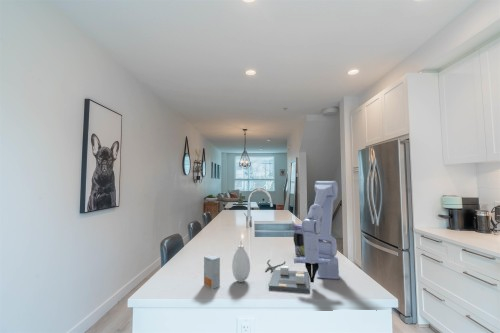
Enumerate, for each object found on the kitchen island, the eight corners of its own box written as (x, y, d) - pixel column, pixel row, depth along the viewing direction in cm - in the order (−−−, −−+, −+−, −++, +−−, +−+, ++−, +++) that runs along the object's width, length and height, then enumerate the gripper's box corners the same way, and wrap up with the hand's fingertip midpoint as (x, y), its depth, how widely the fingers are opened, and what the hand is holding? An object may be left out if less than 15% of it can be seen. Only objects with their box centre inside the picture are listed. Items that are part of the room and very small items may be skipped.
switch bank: (307, 275, 120) (307, 271, 120) (309, 292, 101) (309, 288, 101) (273, 272, 123) (273, 269, 123) (268, 289, 104) (268, 285, 104)
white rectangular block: (304, 281, 108) (304, 273, 108) (304, 284, 105) (304, 276, 105) (295, 280, 109) (295, 273, 109) (295, 283, 106) (295, 275, 106)
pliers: (285, 259, 142) (285, 272, 122) (285, 261, 142) (285, 274, 122) (267, 259, 143) (264, 271, 124) (267, 260, 143) (264, 273, 124)
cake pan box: (293, 253, 157) (292, 223, 158) (298, 251, 160) (298, 222, 161) (318, 260, 142) (318, 228, 143) (324, 258, 145) (323, 227, 146)
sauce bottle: (234, 285, 108) (234, 242, 109) (230, 279, 115) (230, 238, 116) (252, 283, 110) (252, 241, 111) (247, 277, 118) (247, 237, 119)
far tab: (288, 272, 118) (288, 266, 118) (288, 274, 115) (288, 268, 115) (280, 272, 119) (280, 265, 119) (280, 274, 116) (280, 267, 116)
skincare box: (203, 285, 109) (203, 256, 109) (211, 282, 112) (211, 254, 112) (211, 289, 104) (212, 259, 105) (220, 286, 107) (220, 257, 108)
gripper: (293, 249, 104) (294, 284, 103) (330, 251, 102) (331, 286, 101) (293, 245, 111) (294, 277, 110) (328, 247, 108) (329, 280, 108)
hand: (312, 281), depth 106 cm, fingers closed
